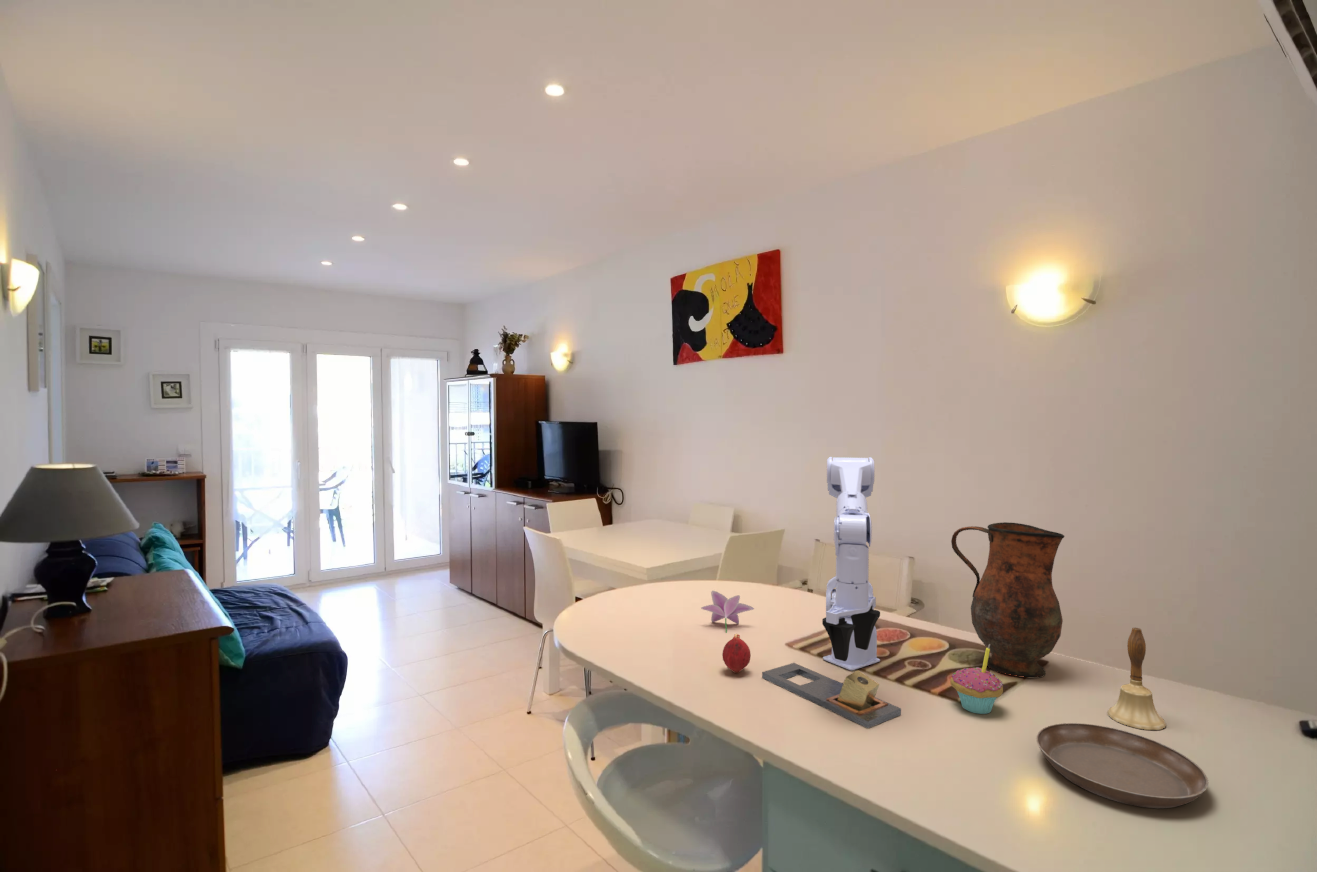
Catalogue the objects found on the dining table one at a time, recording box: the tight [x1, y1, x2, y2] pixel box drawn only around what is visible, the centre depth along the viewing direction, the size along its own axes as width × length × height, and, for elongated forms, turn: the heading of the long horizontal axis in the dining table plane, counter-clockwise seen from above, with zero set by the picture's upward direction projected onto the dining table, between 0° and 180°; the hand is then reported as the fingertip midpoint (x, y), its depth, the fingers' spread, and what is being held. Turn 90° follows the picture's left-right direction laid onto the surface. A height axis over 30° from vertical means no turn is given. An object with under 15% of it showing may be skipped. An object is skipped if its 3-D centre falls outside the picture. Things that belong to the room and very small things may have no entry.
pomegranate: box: [721, 633, 752, 674], centre depth 136 cm, size 6×6×8 cm
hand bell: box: [1106, 627, 1167, 731], centre depth 115 cm, size 8×8×16 cm
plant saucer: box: [1035, 722, 1209, 809], centre depth 97 cm, size 21×21×3 cm
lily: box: [700, 590, 755, 634], centre depth 164 cm, size 12×12×10 cm
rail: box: [761, 662, 902, 729], centre depth 125 cm, size 9×26×1 cm, turn 34°
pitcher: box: [950, 521, 1065, 678], centre depth 139 cm, size 17×21×30 cm
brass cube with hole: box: [838, 669, 880, 711], centre depth 119 cm, size 4×4×5 cm
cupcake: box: [949, 644, 1004, 715], centre depth 119 cm, size 9×8×12 cm
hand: (851, 653), depth 121 cm, fingers open, 7 cm apart
